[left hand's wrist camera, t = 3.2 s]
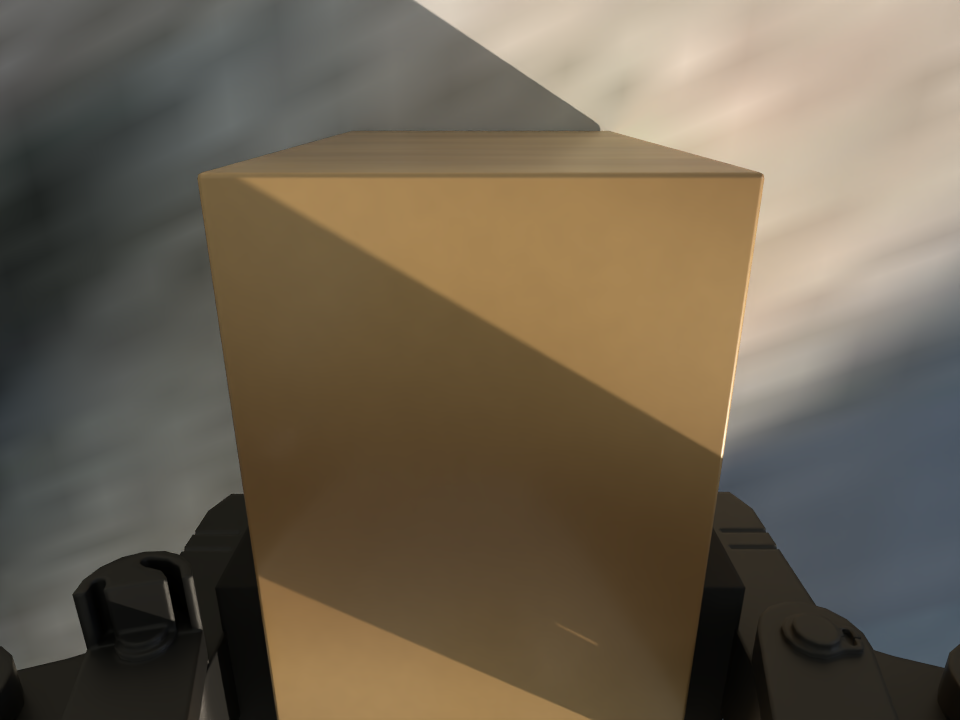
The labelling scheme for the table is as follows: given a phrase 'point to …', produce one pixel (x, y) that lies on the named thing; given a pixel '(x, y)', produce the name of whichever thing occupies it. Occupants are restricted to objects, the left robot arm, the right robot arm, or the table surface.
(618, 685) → the bar
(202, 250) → the table surface
